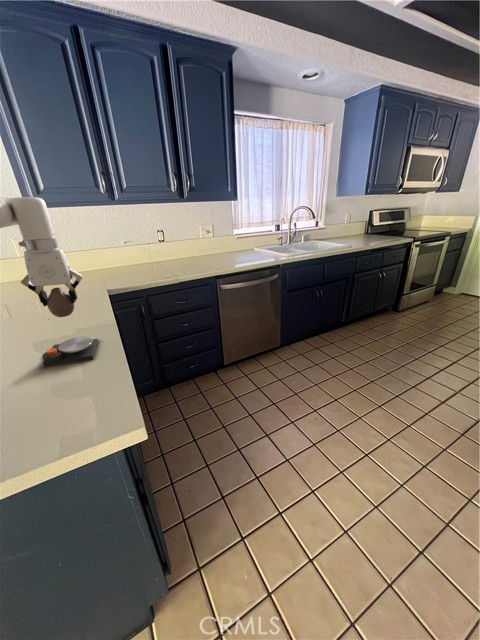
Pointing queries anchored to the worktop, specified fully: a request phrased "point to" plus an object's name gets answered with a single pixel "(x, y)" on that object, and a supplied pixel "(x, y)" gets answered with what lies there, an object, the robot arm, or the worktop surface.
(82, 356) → the scale
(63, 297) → the vase
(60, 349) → the pan
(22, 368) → the worktop surface
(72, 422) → the worktop surface
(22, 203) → the robot arm
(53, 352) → the tare button
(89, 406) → the worktop surface
